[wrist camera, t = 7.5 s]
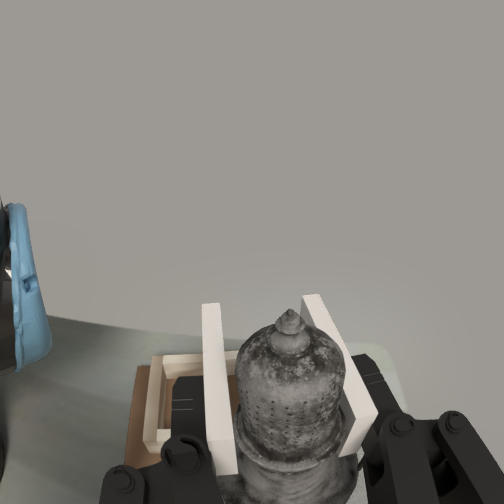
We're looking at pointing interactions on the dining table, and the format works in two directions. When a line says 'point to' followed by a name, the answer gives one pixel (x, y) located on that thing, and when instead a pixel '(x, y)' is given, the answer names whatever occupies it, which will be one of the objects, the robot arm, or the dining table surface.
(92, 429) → the dining table surface
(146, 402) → the caddy
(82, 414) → the dining table surface
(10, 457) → the dining table surface
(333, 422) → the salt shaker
